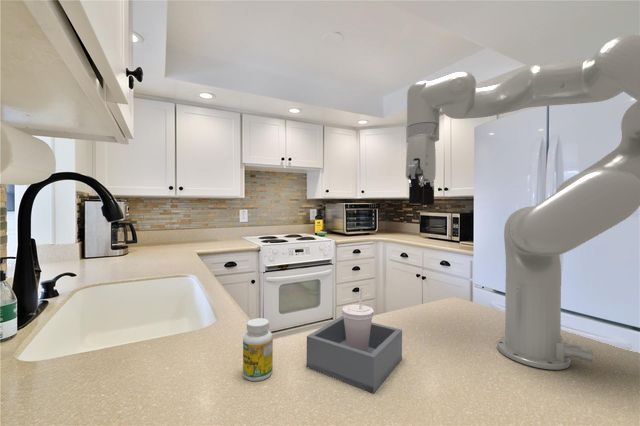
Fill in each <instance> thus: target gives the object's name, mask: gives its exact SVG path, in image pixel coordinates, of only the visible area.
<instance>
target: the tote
mask: <svg viewBox="0 0 640 426" xmlns="http://www.w3.org/2000/svg"><path fill="white" fill-rule="evenodd" d="M402 359H403V329H401V328H396V327H393V326H392V327H391V326H388V325H384V324H380V323H376V322H371V330H370V337H369V345H368V352H365V351H362V350H359V349H355V348H352V347H349V346H347V342H346V334H345V325H344V316H343V315H341V316H340V317H338V318H336V319H335V320H333V321H331V322H329V323H327V324H326V325H324V326H322V327H321V328H320V327H319V328H318V329H316V330H315V331H313V332H312V333H309V334H308V335H306V363H305V364H306V368H307V367H309V368H308V369H310V368H311V369H310V370H312V369H314V370H313V371H315V370H316V371H315V372H317V371H319V372H318V373H320V372H321V373H320V374H322V373H324V374H323V375H325V374H327V375H329V376H328V377H330V376H332V377H331V378H333V377H334V378H333V379H335V378H336V379H335V380H338V379H339V380H338V381H340V380H341V381H340V382H343V383H345V382H346V384H348V383H349V384H348V385H350V384H351V385H350V386H353V385H354V386H353V387H355V386H356V388H358V389H360V388H361V390H363V389H364V390H363V391H366V392H368V393H371V394H375V393H376V392H377V390H379V388H380V387H381V385H382V384H383V383H384V381H386V379H387V378H388V377H389V376H390V374H391V373H392V372H393V371H394V370H395V368H396V367H397V366H398V365H399V364H400V362H401V361H402ZM327 375H326V376H327Z"/></svg>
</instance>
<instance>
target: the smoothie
mask: <svg viewBox="0 0 640 426" xmlns="http://www.w3.org/2000/svg"><path fill="white" fill-rule="evenodd" d="M358 295H359V296H358V301H359V302H358V304H347V305H344V306H343V307H342V308H341V316H344V325H345V334H346V342H347V346H349V347H352V348H355V349H359V350H362V351H365V352H368V345H369V337H370V330H371V322H372V321H373V318H374V315H375V311H374V309H373V308H372V307H371V306H368V305H364V304H363V287H359V290H358ZM372 323H373V322H372Z"/></svg>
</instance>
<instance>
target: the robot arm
mask: <svg viewBox="0 0 640 426" xmlns="http://www.w3.org/2000/svg"><path fill="white" fill-rule="evenodd" d="M623 92H624V93H625V94H626V95H628V96H630V97H631V98H633V99H634V100H635V102H634V103H632V104H631V105H630V106H629V107H628V108H627V109H626V111H625V113H624V114H623V116H622V118H621V123H620V124H621V125H620V130H621V140H620V143H619V145H618V146H617V147H616V148H615V149H614V150H612V151H611V152H609V153H608V154H606V155H605V156H604V157H603V158H601V159H599V160H598V161H596V162H594V163H593V164H591V165H590V166H589V167H586V168H585V169H584V170H582V171H580V172H579V173H577V174H574V175H573V176H571V177H570V178H567V180H565V181H564V182H562V183H561V184H560V185H559V186H558V188H557V189H556V191H555V193H552V194H551V195H550V196H548V197H547V198H546V199H544V200H543V201H540V202H539V203H537V204H536V205H533V206H526V207H522V208H519V209H517V210H515V211H514V212H513V213H511V214H510V215H509V217H508V218H507V219H506V222H505V225H504V229H503V230H504V231H503V238H504V239H503V241H504V251H505V253H504V255H505V298H504V299H505V302H504V305H505V310H504V311H505V313H504V315H505V316H504V319H505V320H504V325H505V326H504V329H505V330H504V332H505V333H504V337H502V338H499V339H497V341H496V347H497V350H498V351H499V353H501V354H502V355H504V356H505V357H507V358H509V359H511V361H512V360H513V361H515V362H518V363H519V364H523V365H524V366H525V365H526V366H530V367H533V368H538V369H544V370H553V371H554V370H556V371H557V370H559V371H560V370H565V369H567V368H569V367H570V366H571V363H572V360H571V357H572V358H577V359H579V360H583V361H588V362H593V357H594V356H593V352H592V350H589V349H584V348H582V346H581V345H577V344H570V343H568V342H566V341H565V340H564V339H563V336H562V335H561V334H562V333H561V332H562V331H561V326H562V325H561V324H562V320H561V319H562V318H561V317H562V316H561V314H562V312H561V311H562V309H561V308H562V307H561V306H562V266H561V265H562V264H561V256H560V255H564V254H566V253H567V252H570V251H573V250H574V249H576V248H578V247H579V246H581V245H583V244H585V243H587V242H589V241H590V240H592V239H594V238H595V237H597V236H599V235H601V234H603V233H604V232H606V231H607V230H610V229H612V228H613V227H616V226H617V225H619V224H620V223H621V222H623V221H625V220H627V219H628V218H629V217H631V216H632V215H633V214H634V213H636V211H637V210H638V209H639V208H640V35H639V34H625V35H620V36H618V37H615V38H613V39H611V40H608V42H606V43H604V44H603V45H602V46H601V47H600V48H599V49H598V50H597V51H596V52H595V54H593V56H591V57H584V58H577V59H569V60H568V59H567V60H561V61H553V62H546V63H545V62H543V63H537V64H532V65H531V66H527V67H526V68H524V69H522V70H521V71H519V72H517V73H516V74H514V75H513V76H511V77H510V78H508V79H506V80H504V81H502V82H500V83H497V84H494V85H489V86H485V87H478V88H477V81H476V77H475V76H474V75H473V74H472V73H470V72H468V71H455V72H453V73H449V74H446V75H444V76H441V77H437V78H436V79H431V80H429V79H428V80H420V81H417V82H414V83H412V84H411V85H410V86H409V87H408V89H407V92H406V93H407V94H406V96H407V97H406V99H407V100H406V143H407V148H406V157H405V159H406V160H405V162H406V164H405V178H406V179H407V180H408V181H409V182H408V185H409V186H408V190H409V191H408V203H409V204H410V205H411V204H412V205H414V204H415V205H417V204H418V205H422V206H433V205H434V204H435V185H434V183H435V180H436V170H437V169H436V167H437V164H436V160H437V159H436V158H437V157H436V142H438V141H440V110H441V111H442V113H443V114H444V115H445V116H446V117H448V118H451V119H456V120H461V119H462V120H463V119H464V120H465V119H466V120H467V119H478V118H488V117H492V116H493V117H494V116H498V115H504V114H507V113H511V112H517V111H520V110H523V109H527V108H538V107H549V106H550V107H551V106H564V105H576V104H579V105H580V104H592V103H599V102H604V101H609V100H611V99H612V98H615V97H617V96H619V95H620V94H622V93H623Z"/></svg>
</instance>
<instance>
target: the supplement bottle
mask: <svg viewBox="0 0 640 426" xmlns="http://www.w3.org/2000/svg"><path fill="white" fill-rule="evenodd" d="M269 329H270V321H269V319H268V318H262V317H257V318H252V319H249V320H248V321H247V322H246V331H247V332H245V333H244V335H243V338H242V373H243V374H242V375H243V377H244V379H246V380H248V381H251V382H258V381H263V380H266V379H268V378H269V377H270V376H271V375H272V373H273V370H274V369H273V367H274V365H273V362H274V359H273V358H274V356H273V355H274V354H273V351H274V348H273V346H274V345H273V343H274V342H273V341H274V339H273V338H274V337H273V333H272V332H271V331H270V330H269Z"/></svg>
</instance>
